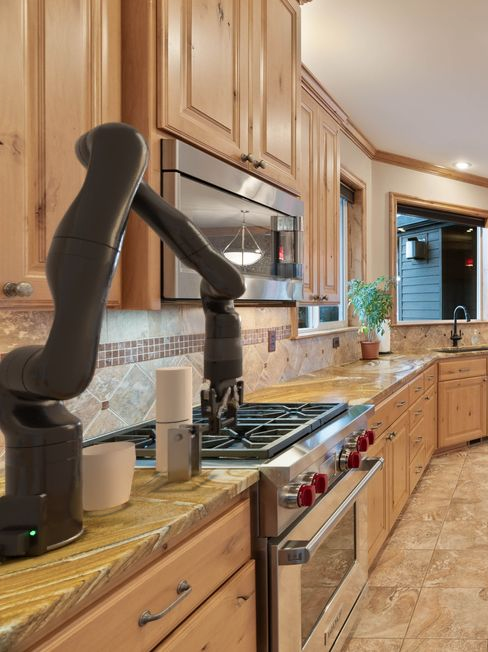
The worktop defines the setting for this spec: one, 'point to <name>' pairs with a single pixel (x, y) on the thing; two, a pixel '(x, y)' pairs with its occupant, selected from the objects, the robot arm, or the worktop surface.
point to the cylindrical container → (171, 407)
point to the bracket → (184, 453)
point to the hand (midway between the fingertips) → (223, 430)
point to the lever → (204, 428)
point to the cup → (107, 474)
